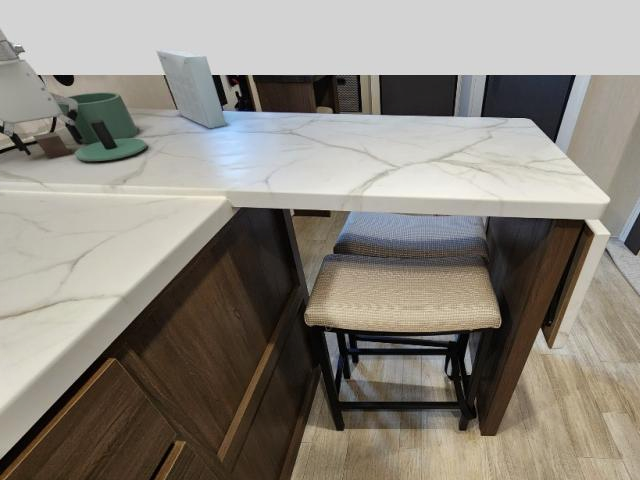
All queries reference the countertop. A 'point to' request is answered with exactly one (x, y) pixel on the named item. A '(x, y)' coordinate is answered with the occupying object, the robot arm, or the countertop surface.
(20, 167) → the countertop surface
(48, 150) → the block
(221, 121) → the skincare box
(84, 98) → the tin
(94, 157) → the tin lid
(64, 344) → the countertop surface
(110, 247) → the countertop surface
